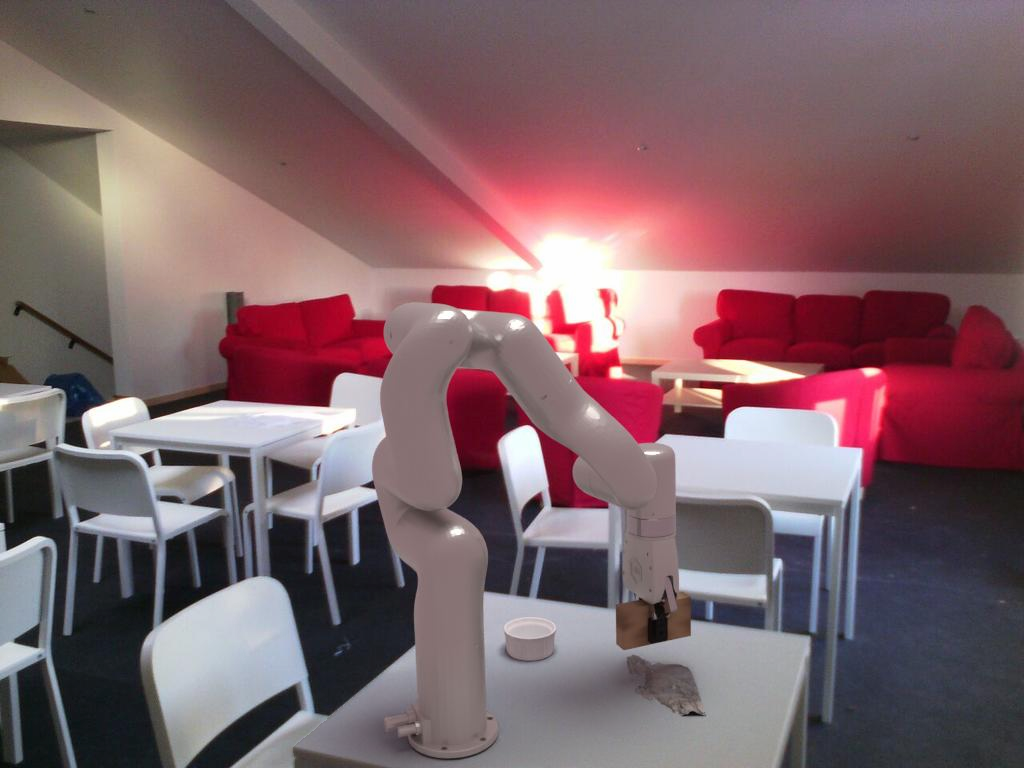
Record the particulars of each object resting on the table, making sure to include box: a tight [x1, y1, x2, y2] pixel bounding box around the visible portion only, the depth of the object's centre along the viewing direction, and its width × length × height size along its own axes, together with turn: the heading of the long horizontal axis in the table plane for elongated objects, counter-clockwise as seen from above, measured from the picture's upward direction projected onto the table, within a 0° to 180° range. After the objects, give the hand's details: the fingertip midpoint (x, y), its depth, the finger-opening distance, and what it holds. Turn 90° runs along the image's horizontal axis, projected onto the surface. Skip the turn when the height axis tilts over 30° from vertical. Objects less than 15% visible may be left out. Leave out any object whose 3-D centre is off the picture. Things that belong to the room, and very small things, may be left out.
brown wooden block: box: [615, 591, 692, 651], centre depth 138 cm, size 12×3×6 cm, turn 111°
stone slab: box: [626, 654, 707, 717], centre depth 135 cm, size 18×2×10 cm
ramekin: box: [503, 616, 557, 662], centre depth 148 cm, size 9×9×4 cm
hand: (652, 636), depth 138 cm, fingers closed on brown wooden block, 2 cm apart
